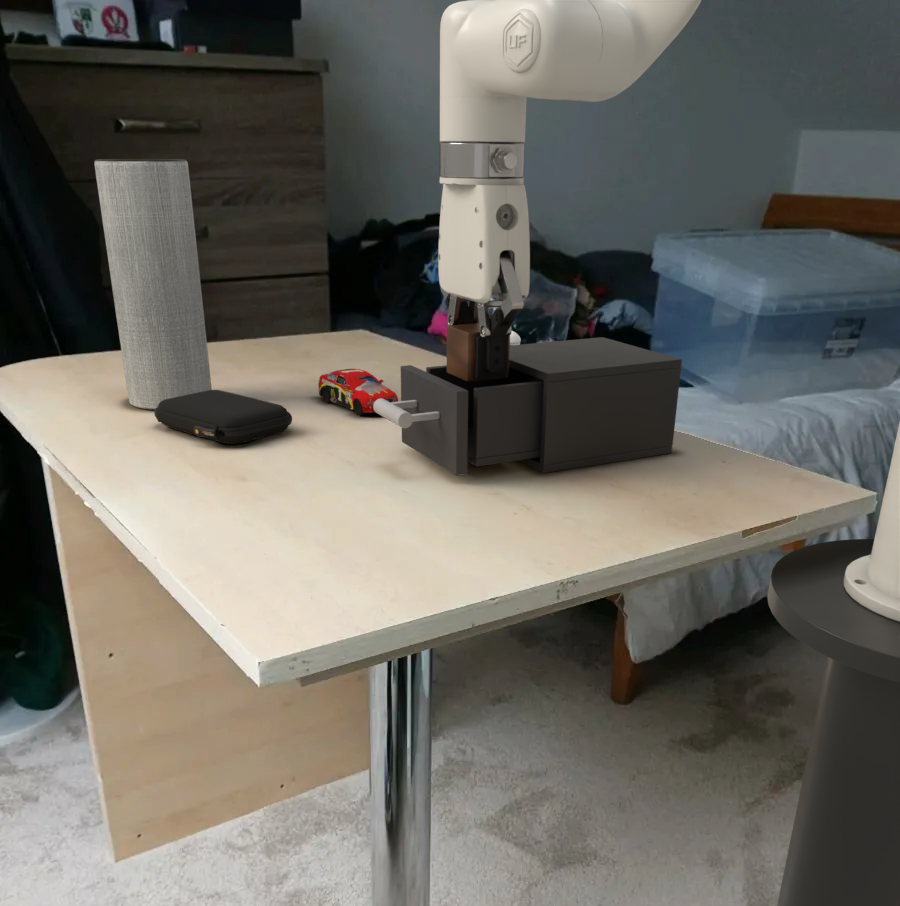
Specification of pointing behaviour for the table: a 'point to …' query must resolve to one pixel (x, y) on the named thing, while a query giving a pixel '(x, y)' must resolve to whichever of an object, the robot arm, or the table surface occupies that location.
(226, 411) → the carrying case
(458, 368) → the block
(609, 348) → the cabinet
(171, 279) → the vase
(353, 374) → the race car
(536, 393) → the drawer
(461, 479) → the table surface
